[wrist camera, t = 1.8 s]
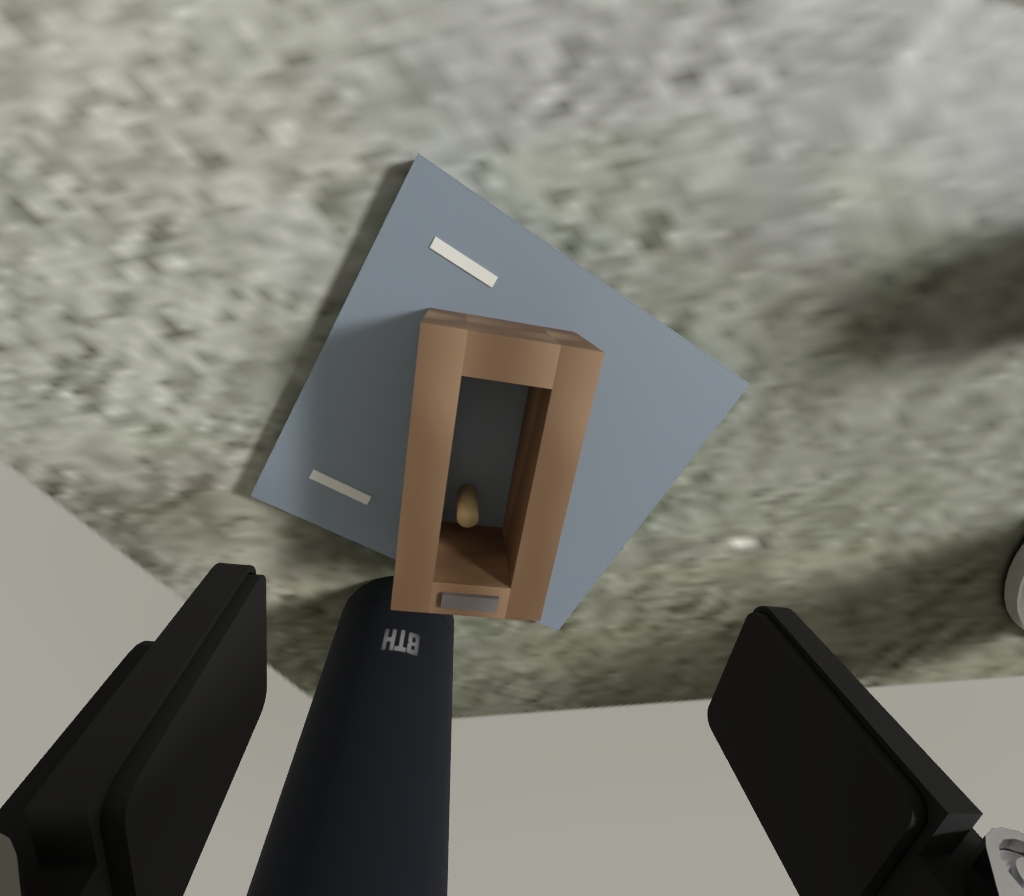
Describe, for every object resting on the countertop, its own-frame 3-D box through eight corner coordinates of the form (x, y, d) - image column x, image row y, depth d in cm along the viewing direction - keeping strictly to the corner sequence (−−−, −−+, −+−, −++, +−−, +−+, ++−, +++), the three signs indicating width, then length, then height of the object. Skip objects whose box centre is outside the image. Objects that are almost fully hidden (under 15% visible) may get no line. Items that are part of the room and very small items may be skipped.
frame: (574, 332, 22) (605, 353, 17) (526, 556, 26) (540, 624, 21) (429, 307, 21) (420, 323, 16) (403, 544, 25) (389, 613, 20)
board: (737, 378, 25) (780, 398, 21) (554, 616, 29) (565, 664, 26) (420, 158, 20) (411, 139, 17) (259, 484, 25) (226, 522, 21)
